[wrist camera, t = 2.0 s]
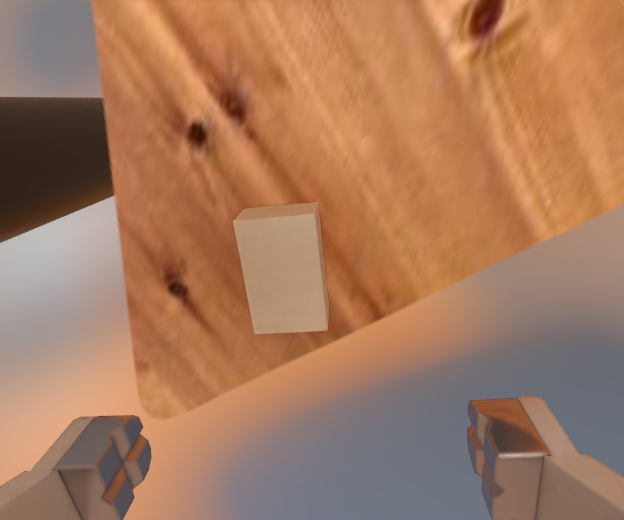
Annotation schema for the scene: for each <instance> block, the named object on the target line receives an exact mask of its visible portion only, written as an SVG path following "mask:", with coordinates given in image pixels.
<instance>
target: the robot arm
mask: <svg viewBox="0 0 624 520" xmlns="http://www.w3.org/2000/svg"><path fill="white" fill-rule="evenodd" d="M468 415H469V418H470V421H471V423H472V424H471V425H470V426H469V427H468V429H467V441H468V448H469V454H470V458H471V462H472V465H473V468H474V471H475V473H476V474H477V475H478V476H480V477H481V478H482V493H483V496H484V499H485V502H486V504H487V507H488V510H489V513H490V515H491V518H492V520H624V477H623V476H621V475H619V474H618V473H616V472H615V471H613V470H611V469H610V468H608V467H607V466H605V465H603V464H602V463H600V462H599V461H597V460H595V459H594V458H592V457H591V456H589V455H580V453H579V452H578V450H577V449H576V447H575V446H574V444H573V443H572V441H571V440H570V439H569V437H568V436H567V434H566V433H565V431H564V430H563V428H562V427H561V425H560V424H559V422H558V421H557V420H556V418H555V417H554V415H553V414H552V412H551V411H550V409H549V408H548V406H547V405H546V403H545V402H544V400H543V399H542V398H540V397H538V396H534V397H518V398H505V399H486V400H470V401H469V404H468ZM142 428H143V426H142V423H141V421H140V419H139V417H137V416H134V415H133V416H132V415H131V416H98V417H79V418H77V419H75V420H73V422H72V423H71V424H70V425H69V426H68V427H67V428H66V430H65V431H64V432H63V433H62V434H61V435H60V437H59V438H58V439H57V440H56V441H55V443H54V444H53V445H52V446H51V447H50V448H49V450H48V451H47V452H46V453H45V454H44V455H43V457H42V458H41V459H40V460H39V461H38V463H37V464H36V465H35V466H34V467H33V468H32V470H31V471H24V472H23V473H21V474H19V475H18V476H16V477H15V478H13V479H11V480H10V481H8V482H7V483H5V484H3V485H2V486H0V520H123V518H124V516H125V515H126V513H127V511H128V509H129V507H130V505H131V503H132V501H133V499H134V494H133V489H134V488H135V487H136V486H138V485H139V484H140V483H141V482H142V481H143V480H144V478H145V476H146V474H147V472H148V470H149V466H150V461H151V448H150V445H149V442H148V440H147V439H146V438H144V437H143V436H142V435H140V432H141V430H142Z"/></svg>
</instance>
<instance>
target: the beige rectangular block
mask: <svg viewBox="0 0 624 520" xmlns="http://www.w3.org/2000/svg"><path fill="white" fill-rule="evenodd" d="M233 226H234V231H235V236H236V241H237V247H238V252H239V257H240V262H241V268H242V273H243V278H244V283H245V288H246V294H247V299H248V304H249V309H250V314H251V320H252V325H253V330H254V334H271V333H291V332H310V331H327V330H328V321H329V299H328V289H327V280H326V271H325V261H324V252H323V242H322V233H321V223H320V214H319V205H318V202H310V203H299V204H287V205H276V206H265V207H254V208H245V209H243V211H242V212H241V213H240V214H239V215H238V216H237V217H236V218H235V219H234V220H233Z"/></svg>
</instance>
